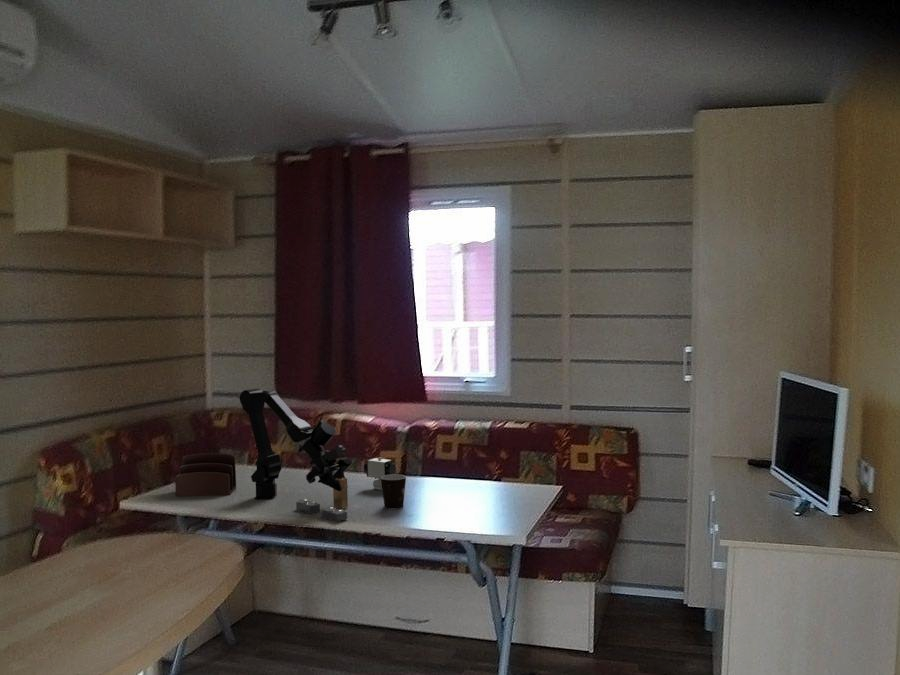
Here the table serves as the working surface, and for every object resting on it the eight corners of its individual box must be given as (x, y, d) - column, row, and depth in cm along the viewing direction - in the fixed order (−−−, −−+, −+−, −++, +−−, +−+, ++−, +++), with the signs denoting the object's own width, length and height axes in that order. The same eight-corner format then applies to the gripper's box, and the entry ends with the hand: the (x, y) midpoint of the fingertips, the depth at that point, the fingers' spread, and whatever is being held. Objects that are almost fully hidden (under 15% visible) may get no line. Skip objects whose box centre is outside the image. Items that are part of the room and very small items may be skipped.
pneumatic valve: (389, 492, 287) (388, 459, 287) (363, 488, 294) (363, 456, 293) (398, 489, 292) (397, 457, 292) (372, 485, 298) (372, 454, 298)
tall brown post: (333, 508, 266) (333, 479, 265) (339, 506, 269) (338, 477, 268) (341, 509, 264) (341, 480, 264) (347, 507, 267) (347, 478, 266)
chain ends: (296, 509, 266) (296, 500, 265) (306, 507, 268) (306, 497, 268) (336, 522, 249) (336, 512, 249) (347, 519, 252) (346, 510, 252)
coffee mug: (392, 501, 274) (391, 473, 273) (411, 505, 269) (411, 476, 268) (370, 509, 264) (369, 479, 264) (389, 513, 259) (389, 482, 259)
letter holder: (183, 490, 296) (182, 453, 296) (236, 489, 297) (235, 452, 296) (175, 496, 286) (174, 458, 286) (230, 495, 287) (229, 457, 286)
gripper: (312, 443, 259) (339, 479, 254) (346, 434, 275) (373, 468, 270) (294, 464, 264) (321, 501, 259) (329, 455, 280) (355, 489, 275)
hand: (343, 489), depth 265 cm, fingers closed on tall brown post, 3 cm apart
